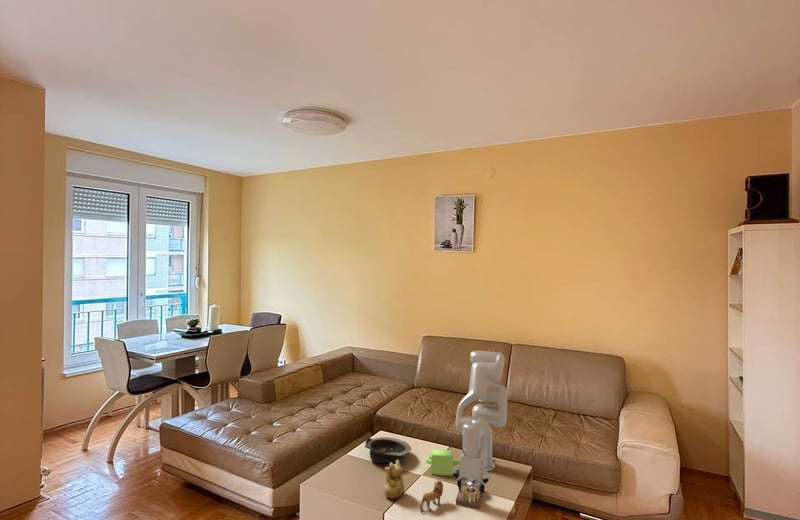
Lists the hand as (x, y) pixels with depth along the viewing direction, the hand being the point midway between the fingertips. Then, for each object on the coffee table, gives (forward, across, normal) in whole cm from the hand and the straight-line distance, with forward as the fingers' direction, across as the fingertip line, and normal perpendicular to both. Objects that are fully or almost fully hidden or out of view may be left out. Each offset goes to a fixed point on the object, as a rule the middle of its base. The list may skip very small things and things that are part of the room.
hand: (470, 490), depth 185 cm
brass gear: (+3, 0, 0) cm, 3 cm away
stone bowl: (+6, +48, -27) cm, 55 cm away
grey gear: (+3, 0, -8) cm, 9 cm away
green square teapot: (+6, +17, -24) cm, 30 cm away
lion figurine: (+6, +16, +8) cm, 18 cm away
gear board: (+5, +1, -4) cm, 7 cm away
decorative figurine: (+6, +33, +6) cm, 34 cm away
